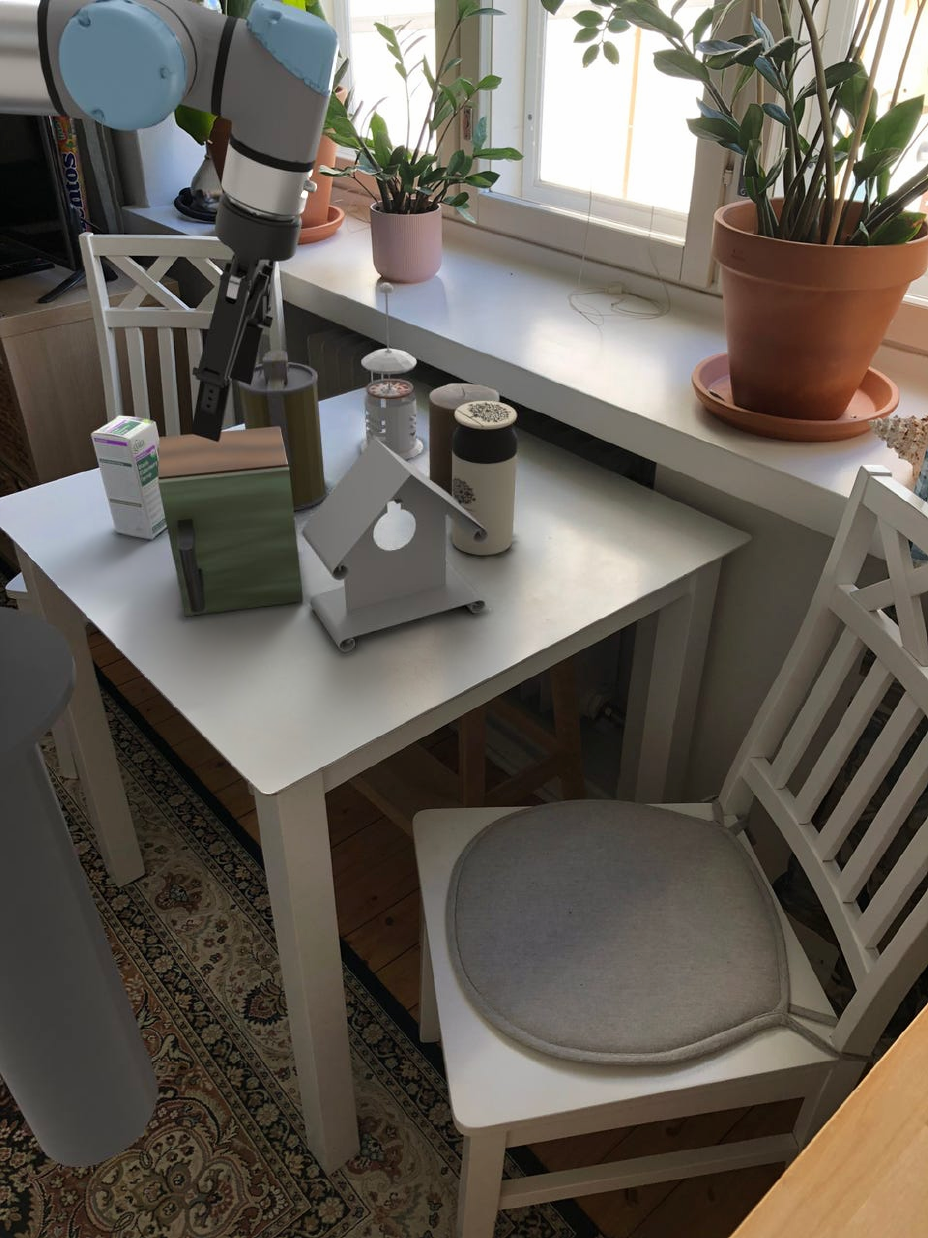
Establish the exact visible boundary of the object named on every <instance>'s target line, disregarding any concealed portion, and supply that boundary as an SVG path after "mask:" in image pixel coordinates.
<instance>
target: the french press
mask: <svg viewBox="0 0 928 1238" xmlns="http://www.w3.org/2000/svg"><path fill="white" fill-rule="evenodd" d="M393 292H394V287H393V285H392V284H391V283H389V282H382V283H381V284H380V285H379V293H381V294H384V295H385V318H386V323H385V324H386V342H387V343H386V345H387V346H386V347H387V348H382V349H381V348H380V349H377V350H375V351H373V352H371V353H369V354H367V355H365V356H364V357H363V358H362V359H361V361H360V362H361V366H362V367H363V368H364V369H366V370H368V371H370V375H371V379H370V380H371V382H369V383H368V384H367V385H366V386H365V392H366V394H365V395H364V398H363V402H364V403H363V404H364V415H365V416H364V419H365V420H364V422H365V440H364V441H363V442H362V444H361V445H360V452H361V454H362V453H363V451H364V450H365V449H366V448H367V446H368V445H369V444H370V443H371V441H372V440H373V439H374V437H375V438H376V439H377V440H379V441H380V442H381V443H383V444H384V445H385V446H386V447H388V448H389V449H390V450H392V451H393V452H394V453H396V454H397V455H398V456H400V457H401V458H402V459H404V460H405V461H406V460H409V459H412V458H413V459H414V458H415V457H416V456H418V455H420V454H421V453H422V451H423V450H424V445H423V442H422V441H421V440H420V439H419V438H418V436H417V434H418V433H417V432H418V431H417V430H418V429H417V396H416V393H415V392H413V391H414V390H415V387H414V385H413V384H412V383H411V382H410V381H407V380H404V379H398V378H397V379H396V378H391V375H398V374H403V373H407V372H409V371H412V370H413V369H414V368H415V367H416V365H417V363H418V362H417V359H416V357H414V356H412V355H411V354H410V353H408V352H406V351H404V350H400V349H395V348H392V347H391V348H390V338H389V337H390V336H389V334H390V333H389V305H388V294H390V293H393ZM374 373H375V374H378V375H379V374H380V375H381V379H376V380H374V376H373V375H374ZM384 375H388V376H387V377H388V378H384ZM404 398H410V399H412V400H413V401H408V400H404V401H402V399H404ZM382 400H384V402H385V407H384V406H382ZM367 413H368V414H367ZM383 422H384V424H383Z"/></svg>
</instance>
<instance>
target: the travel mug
mask: <svg viewBox="0 0 928 1238" xmlns="http://www.w3.org/2000/svg"><path fill="white" fill-rule="evenodd" d="M517 417H518V413H517V411H516V410H515V409H514V408H513V407H511V406H510V405H508V404H506V403H503V402H500V401H499V402H494V401H475V402H470V403H466V404H464V405H461V406H460V407H458V408H457V409H456V411H455V418H456V420H457V423H458V427H457V429H456V431H455V432H454V434H453V437H452V498H453V499H454V500H456V501H457V502H458V503H459V504H460V505H461V506H462V507H463V508H464V509H465V510H466V511H467V512H468V513H469V514H470V515H471V516H472V517H473V518H474V519H475V520H476V521H477V522H478V523H479V524H480V525H482V526H483V527H484V528H485V529H486V530H487V532H488V537H487V539H486V540H485V541H484V542H483V543H480V544H477V543H475V542H474V541H473V540H472V539H471V538H470V537H469V536H468V535H467V534H466V533H465V532H464V531H463V530H462V529H461V528H460V527H459V526H458V525H457V524H456V523H455V522H454V521H453V520H452V519H451V542H452V545H454V546H455V547H456V548H457V549H459V550H460V551H462V552H464V553H467V554H471V555H477V556H488V555H496V554H499V553H502V552H505V551H506V550H508V549H509V548H510V547H511V546H512V543H513V539H514V519H515V518H514V517H515V499H516V478H517V460H518V458H517V457H518V442H519V441H518V435H517V433H516V431H515V430H514V428H513V427H514V423H515V421H516V420H517Z"/></svg>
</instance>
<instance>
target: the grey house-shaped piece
mask: <svg viewBox="0 0 928 1238" xmlns="http://www.w3.org/2000/svg"><path fill="white" fill-rule="evenodd" d="M391 502H394V503H395V504H396V505H398V504H399V505H400V510H403V511H406V512H408V513H410V514H411V515H412V517H413V519H414V521H415V529H414V532H413V535H412V536H411V538H410V539H409V541H408V542H407V543H405V544H404V545H403V546H402V547H399V548H396V549H392V550H389V549H384V548H381V547H380V546H379V545H378V544H377V543H376V540H375V536H374V534H375V528H376V525H377V524H378V522H379V520H380V519H381V518H382V517H383V516H385V515H386V514H388V513H389V511H388V504H389V503H391ZM447 516H448V517H449V518H450V519H451V521H452V520H453V521H454V522H455V523H456V524H457V525H458V526H459V527H460V528H461V529H462V530H463V531H464V532H465V533H466V534H467V535H468V536H469V537H470V538H471V539H472V540H473V541H474V542H475V543H477V544H480V543H483V542H484V541H485V540H486V539H487V537H488V532H487V530H486V529H485V528H484V527H483V526H482V525H480V524H479V523H478V522H477V521H476V520H475V519H474V518H473V517H472V516H471V515H470V514H469V513H468V512H467V511H466V510H465V509H464V508H463V507H462V506H461V505H460V504H459V503H458V502H457V501H456V500H454V499H453V498H452V497H451V496H450V495H449V494H448V493H447V492H446V491H444V490H443V489H442V488H440V487H439V486H438V485H436V484H435V483H434V482H433V481H431V480H430V478H429V477H427V475H425V474H423V473H422V472H421V471H419V470H418V469H417V468H416V467H414V466H413V465H412V464H410V463H409V462H408V461H406V460H404V459H402V458H401V457H400V456H398V455H397V454H396V453H394V452H393V451H392V450H390V449H389V448H388V447H386V446H385V445H384V444H383V443H381V442H380V441H379V440H377V439H376V438H375V437H374V439H373V440H372V441H371V443H370V444H369V445H368V446H367V448H366V449H365V450H364V451H363V453H362V452H361V454H360V455H359V456H358V458H357V459H356V460H355V461H354V463H353V464H352V465H351V466H350V468H349V469H348V470H347V472H345V474H344V475H343V477H342V478H341V479H340V480H339V482H337V484H336V486H334V488H333V489H332V490H331V492H330V493H329V495H328V496H326V497H325V498H324V501H323V502H322V503H321V504H320V506H319V507H318V508H317V509H316V511H315V512H314V513H313V515H312V516H311V517H310V518H309V519H308V521H307V522H306V523H305V525H304V526H303V527H302V529H301V535H302V537H303V538H304V539H305V540H306V542H307V544H308V545H309V547H311V549H312V550H313V552H314V553H315V554H316V556H317V557H318V558H319V560H320V561H321V563H322V564H323V565H324V567H325V569H327V571H328V572H329V574H330V575H331V577H332V578H333V579H334V580H336V581H343V582H344V583H343V585H344V586H343V587H340V588H336V589H332V590H329V591H326V592H321V593H317V594H314V595H313V596H312V597H311V598H310V600H309V604H310V607H311V608H312V609H313V611H314V613H315V614H316V615H317V617H318V619H319V620H320V621H321V623H322V624H323V626H324V628H325V629H326V630H327V632H328V633H329V636H330V637H331V638H332V639H333V641H334V643H335V644H336V646H337V647H338V649H339V650H340V651H341V652H344V653H346V652H347V653H348V652H350V651H351V650H353V648H355V645H356V641H355V639H354V638H355V637H357V636H358V637H359V636H362V635H366V634H368V633H372V632H377V631H379V630H382V629H386V628H389V627H392V626H396V625H400V624H403V623H406V622H411V621H414V620H417V619H421V618H424V617H428V616H431V615H434V614H437V613H441V612H444V611H448V610H451V609H456V608H459V607H462V606H466V607H467V608H468V609H469V610H470V611H471V613H473V614H479V613H481V612H483V610H484V609H485V607H486V602H485V601H484V600H483V599H482V597H481V596H480V595H478V593H477V592H476V591H475V590H474V589H473V588H472V587H471V586H470V585H469V583H468V582H466V580H465V579H464V578H463V577H462V576H461V575H460V574H459V572H457V571H456V569H455V568H454V567H453V566H452V565H451V564H450V563H449V562H448V561H447Z"/></svg>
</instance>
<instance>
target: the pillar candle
mask: <svg viewBox="0 0 928 1238" xmlns="http://www.w3.org/2000/svg"><path fill="white" fill-rule="evenodd" d="M428 398H429V399H428V405H429V406H428V418H429V419H428V426H429V428H428V435H429V436H428V437H429V439H428V441H429V442H428V443H429V444H428V452H429V454H428V456H429V457H428V458H429V477H428V478H429V479H430V480H431V481H433V482H434V483H435V484H436V485H438V486H439V487H440V488H442V489H443V490H444V491H446V492H447V493H448V494H449V495H450V496H451V497H452V437H453V434H454V432H455V431H456V429H457V427H458V423H457V420H456V418H455V411H456V409H457V408H458V407H460V406H461V405H464V404H466V403H470V402H475V401H494V402H499V403H500V393H499V392H498V391H496V390H495V389H493V388H490V387H488V386H485V385H484V386H483V385H480V384H471V383H448V384H446V385H443V386H440V387H437V388H434V389H433V390H432V391H431V392H430V393H429V396H428Z"/></svg>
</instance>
